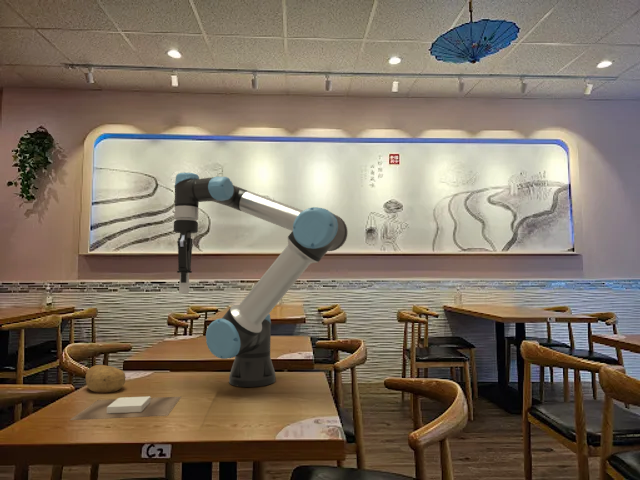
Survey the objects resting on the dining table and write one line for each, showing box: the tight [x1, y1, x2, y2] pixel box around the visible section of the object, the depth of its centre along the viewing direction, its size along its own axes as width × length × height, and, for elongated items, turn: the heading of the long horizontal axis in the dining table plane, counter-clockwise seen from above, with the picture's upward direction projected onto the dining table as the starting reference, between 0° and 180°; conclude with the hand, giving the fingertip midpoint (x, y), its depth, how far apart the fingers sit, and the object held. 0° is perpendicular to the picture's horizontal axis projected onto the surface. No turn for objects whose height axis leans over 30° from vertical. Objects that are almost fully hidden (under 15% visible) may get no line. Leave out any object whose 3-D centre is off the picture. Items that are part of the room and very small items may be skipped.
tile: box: [107, 395, 152, 413], centre depth 103 cm, size 8×2×8 cm
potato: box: [85, 364, 126, 394], centre depth 121 cm, size 10×14×8 cm
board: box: [69, 396, 182, 421], centre depth 104 cm, size 22×16×1 cm
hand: (183, 293), depth 130 cm, fingers closed
